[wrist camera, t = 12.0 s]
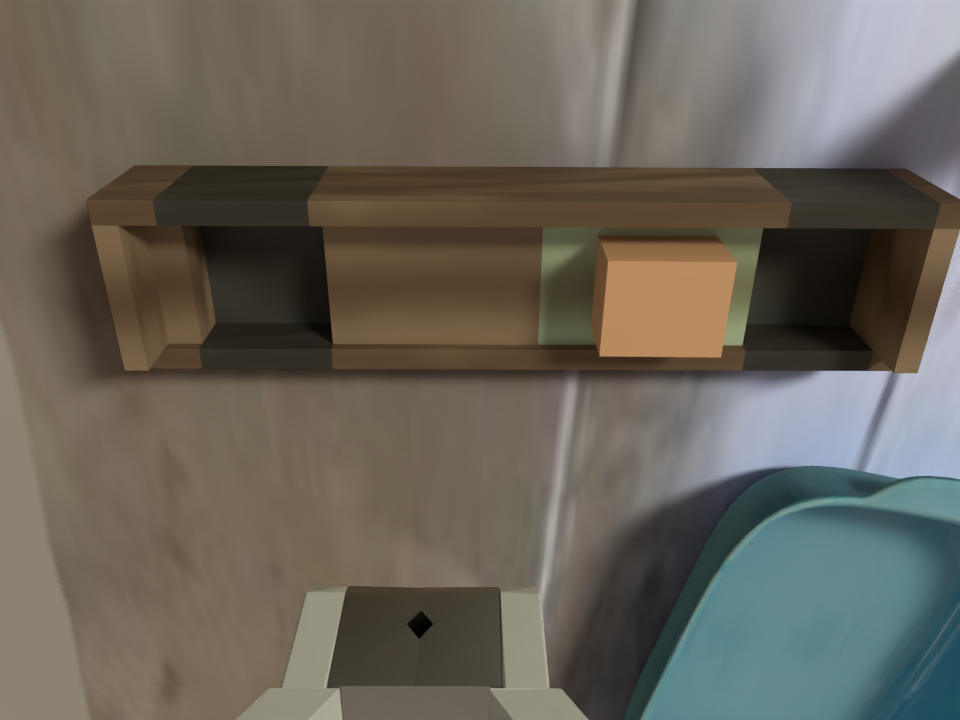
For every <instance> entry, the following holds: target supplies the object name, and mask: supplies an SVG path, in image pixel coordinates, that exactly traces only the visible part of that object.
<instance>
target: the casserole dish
mask: <svg viewBox="0 0 960 720" xmlns="http://www.w3.org/2000/svg"><path fill="white" fill-rule="evenodd" d="M624 720H960V480H959V479H954V478H946V477H934V476H915V477H909V478H903V479H898V478H893V477H888V476H883V475H877V474H872V473H867V472H862V471H856V470H850V469H844V468H835V467H824V466H802V467H794V468H788V469H785V470H781V471H778V472H775V473H773V474H771V475H768V476H766V477H764V478H762V479H760V480H759V481H757V482H755V483H754V484H753V485H751V486H750V487H749V488H748V489H746V490H745V491H744V492H743V493H742V494H741V495H740V496H739V497H738V498H737V499H736V500H735V501H734V502H733V503H732V504H731V506H730V507H729V508H728V509H727V511H726V512H725V513H724V515H723V516H722V518H721V519H720V521H719V522H718V524H717V525H716V527H715V528H714V530H713V532H712V533H711V535H710V537H709V539H708V540H707V542H706V544H705V546H704V547H703V549H702V551H701V553H700V555H699V557H698V559H697V561H696V563H695V565H694V567H693V569H692V571H691V573H690V575H689V577H688V579H687V581H686V583H685V585H684V587H683V589H682V591H681V593H680V595H679V597H678V599H677V602H676V604H675V606H674V608H673V610H672V612H671V614H670V616H669V618H668V620H667V622H666V624H665V626H664V628H663V630H662V632H661V634H660V636H659V638H658V640H657V642H656V644H655V646H654V648H653V650H652V652H651V654H650V656H649V658H648V660H647V662H646V664H645V666H644V668H643V671H642V673H641V675H640V677H639V680H638V682H637V684H636V686H635V688H634V691H633V693H632V696H631V699H630V701H629V704H628V707H627V710H626V714H625V717H624Z"/></svg>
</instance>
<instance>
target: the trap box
mask: <svg viewBox="0 0 960 720" xmlns="http://www.w3.org/2000/svg"><path fill="white" fill-rule="evenodd" d="M86 203H87V207H88V212H89V216H90V221H91V225H92V229H93V234H94V238H95V242H96V247H97V251H98V256H99V260H100V264H101V269H102V273H103V277H104V282H105V286H106V291H107V295H108V299H109V304H110V308H111V313H112V317H113V321H114V326H115V330H116V334H117V339H118V343H119V348H120V352H121V356H122V361H123V365H124V369H125V370H127V371H149V369H469V370H796V371H891V370H892V371H893V373H918V369H919V366H920V363H921V359H922V356H923V352H924V349H925V346H926V342H927V339H928V336H929V332H930V329H931V325H932V322H933V319H934V315H935V312H936V308H937V305H938V302H939V298H940V295H941V292H942V288H943V285H944V281H945V278H946V275H947V271H948V268H949V264H950V261H951V258H952V254H953V251H954V247H955V244H956V241H957V237H958V234H959V231H960V199H958V198H957V197H955V196H953V195H951V194H949V193H948V192H946V191H944V190H942V189H941V188H939V187H937V186H935V185H934V184H932V183H930V182H928V181H927V180H925V179H923V178H921V177H920V176H918V175H916V174H914V173H912V172H911V171H909V170H907V169H819V168H591V167H363V166H134V167H132V168H131V169H129V170H128V171H126V172H125V173H124V174H122V175H121V176H119V177H118V178H116V179H115V180H114V181H112V182H111V183H109V184H108V185H106V186H105V187H104V188H102V189H101V190H99V191H98V192H97V193H95V194H94V195H92V196H91V197H89V198H88V199H87V200H86ZM598 236H677V237H718V238H719V239H720V241H721V242H722V243H723V245H724V246H725V247H726V248H727V250H728V251H729V252H730V254H731V255H732V256H733V257H734V259H735V260H736V261H737V267H736V273H735V279H734V284H733V290H732V296H731V302H730V308H729V314H728V319H727V325H726V331H725V337H724V343H723V349H722V354H721V358H720V357H612V356H599V353H598V349H597V346H596V342H595V339H594V335H593V332H592V328H591V316H592V305H593V293H594V281H595V269H596V257H597V245H598Z"/></svg>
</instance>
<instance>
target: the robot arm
mask: <svg viewBox="0 0 960 720" xmlns="http://www.w3.org/2000/svg"><path fill="white" fill-rule="evenodd" d="M235 720H588V719H587V718H586V716H585V715H584V714H583V713H582V712H581V711H580V709H579V708H578V707H577V706H576V705H575V704H574V703H573V701H572V700H571V699H570V698H569V697H568V696H567V695H566V693H565V692H564V691H563V690H562V689H555V688H549V677H548V667H547V656H546V646H545V635H544V625H543V615H542V604H541V594H540V590H539V589H538V587H537V586H521V587H500V590H499V587H436V588H405V587H367V586H349V587H332V586H310V587H309V589H308V590H307V592H306V593H305V595H304V599H303V602H302V606H301V610H300V614H299V618H298V622H297V625H296V629H295V633H294V637H293V641H292V644H291V648H290V652H289V656H288V660H287V664H286V667H285V671H284V675H283V679H282V683H281V686H280V688H268V689H267V690H266V691H265V692H264V693H263V694H262V695H260V696H259V697H258V698H257V699H256V700H255V701H254V702H253V703H252V704H251V705H250V706H249V707H248V708H247V709H245V710H244V711H243V712H242V713H241V714H240V715H239V716H238V717H237V718H236V719H235Z"/></svg>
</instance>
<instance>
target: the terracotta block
mask: <svg viewBox="0 0 960 720" xmlns="http://www.w3.org/2000/svg"><path fill="white" fill-rule="evenodd" d="M736 267H737V261H736V260H735V259H734V257H733V256H732V255H731V254H730V252H729V251H728V250H727V248H726V247H725V246H724V245H723V243H722V242H721V241H720V239H719V238H718V237H677V236H598V245H597V257H596V269H595V281H594V293H593V305H592V316H591V328H592V332H593V335H594V339H595V342H596V346H597V349H598V353H599V356H612V357H720V358H721V354H722V349H723V343H724V337H725V331H726V325H727V319H728V314H729V308H730V302H731V296H732V290H733V284H734V279H735V273H736Z"/></svg>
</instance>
